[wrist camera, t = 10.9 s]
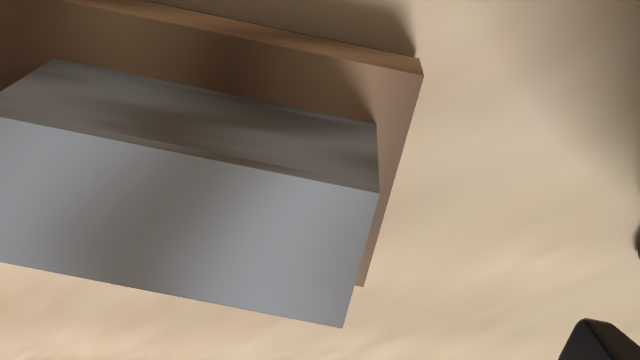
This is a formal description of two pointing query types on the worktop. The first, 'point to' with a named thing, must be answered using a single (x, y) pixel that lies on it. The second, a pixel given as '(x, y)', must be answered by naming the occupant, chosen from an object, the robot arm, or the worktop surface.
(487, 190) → the worktop surface
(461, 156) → the worktop surface
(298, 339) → the worktop surface
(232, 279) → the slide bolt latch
